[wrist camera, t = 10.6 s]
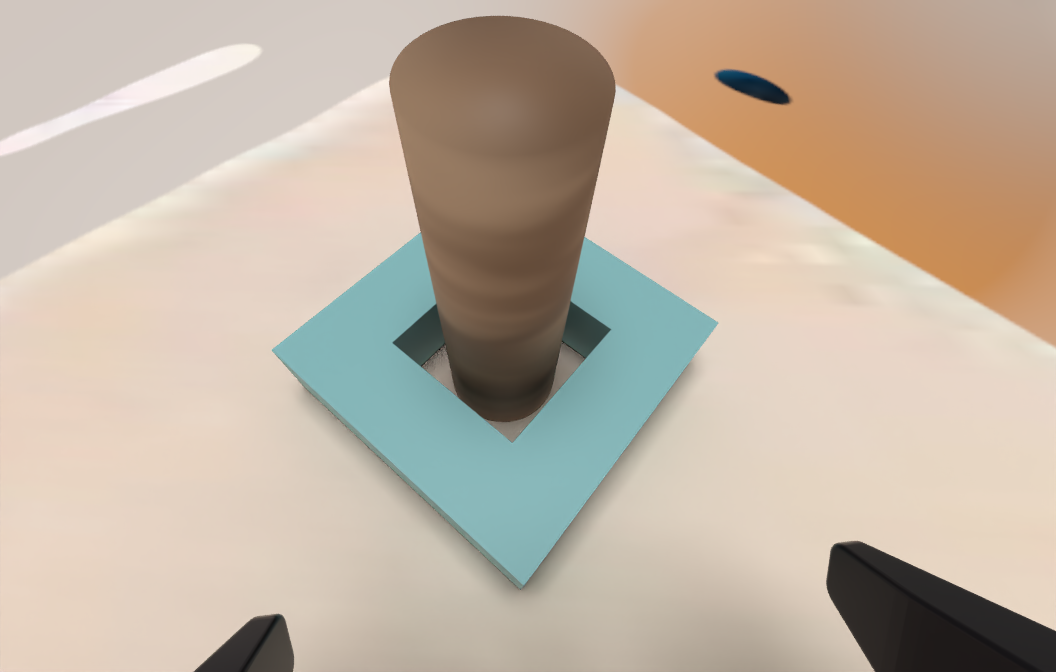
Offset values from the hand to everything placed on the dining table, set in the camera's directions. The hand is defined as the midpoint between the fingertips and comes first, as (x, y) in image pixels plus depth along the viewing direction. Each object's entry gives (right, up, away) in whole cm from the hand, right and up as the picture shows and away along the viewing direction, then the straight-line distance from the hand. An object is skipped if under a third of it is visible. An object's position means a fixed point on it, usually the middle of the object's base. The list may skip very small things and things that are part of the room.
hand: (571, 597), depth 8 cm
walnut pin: (-2, +3, +12) cm, 12 cm away
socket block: (-2, +3, +12) cm, 12 cm away
